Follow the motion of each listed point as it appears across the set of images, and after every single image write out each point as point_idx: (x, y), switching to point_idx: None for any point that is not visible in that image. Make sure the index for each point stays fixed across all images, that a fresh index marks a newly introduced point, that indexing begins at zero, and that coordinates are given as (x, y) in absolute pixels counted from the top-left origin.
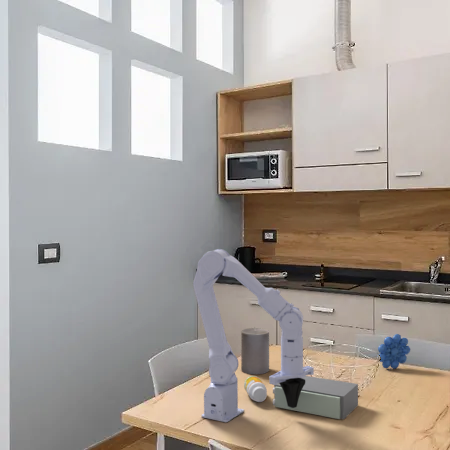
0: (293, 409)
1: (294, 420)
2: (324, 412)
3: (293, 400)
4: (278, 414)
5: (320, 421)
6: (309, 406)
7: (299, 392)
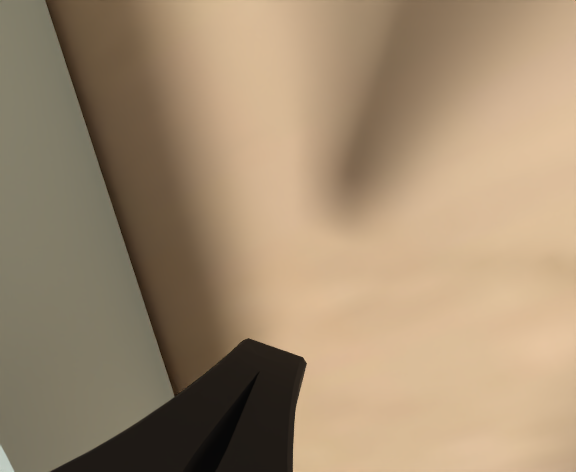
0: (158, 360)
1: (335, 267)
2: (31, 60)
3: (291, 430)
4: (302, 425)
5: (181, 28)
6: (71, 246)
7: (126, 460)
